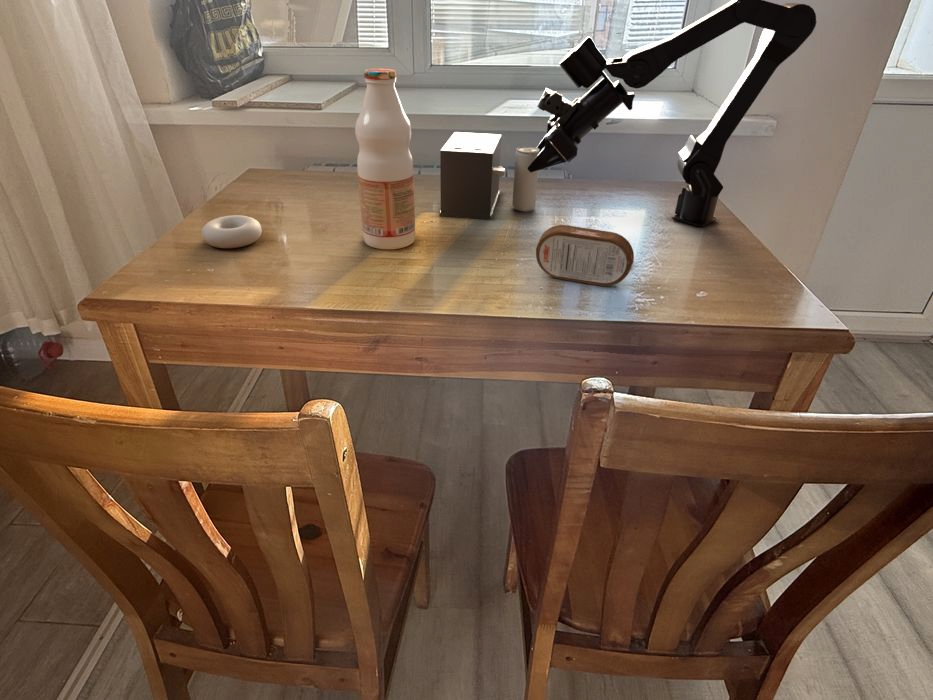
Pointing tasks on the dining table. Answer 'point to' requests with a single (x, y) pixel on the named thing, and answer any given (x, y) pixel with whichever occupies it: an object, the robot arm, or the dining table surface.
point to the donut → (231, 231)
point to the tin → (584, 255)
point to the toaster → (470, 175)
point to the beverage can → (525, 179)
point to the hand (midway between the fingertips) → (530, 164)
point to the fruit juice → (385, 165)
